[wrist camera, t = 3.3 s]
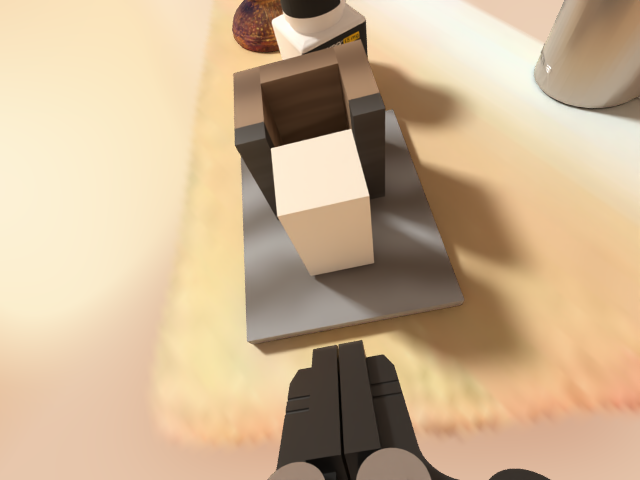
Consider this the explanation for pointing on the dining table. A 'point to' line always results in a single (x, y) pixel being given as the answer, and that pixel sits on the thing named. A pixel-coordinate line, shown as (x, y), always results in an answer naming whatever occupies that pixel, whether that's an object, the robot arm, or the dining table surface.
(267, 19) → the bell
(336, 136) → the peg
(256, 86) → the u-shaped block stand
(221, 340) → the dining table surface
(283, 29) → the medicine bottle
